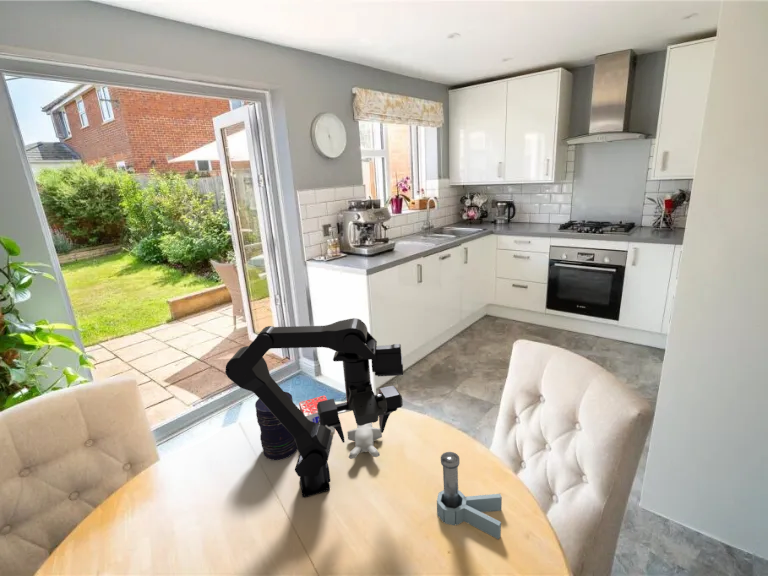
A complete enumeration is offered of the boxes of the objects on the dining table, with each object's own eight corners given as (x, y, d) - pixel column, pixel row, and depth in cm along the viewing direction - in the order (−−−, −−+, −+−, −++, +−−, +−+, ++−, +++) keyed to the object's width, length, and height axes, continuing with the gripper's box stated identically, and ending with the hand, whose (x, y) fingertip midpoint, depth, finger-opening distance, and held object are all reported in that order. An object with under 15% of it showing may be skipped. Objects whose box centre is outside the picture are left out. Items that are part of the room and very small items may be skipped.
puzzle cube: (327, 417, 119) (324, 395, 117) (335, 431, 112) (332, 408, 110) (301, 425, 116) (298, 402, 114) (308, 440, 109) (304, 416, 107)
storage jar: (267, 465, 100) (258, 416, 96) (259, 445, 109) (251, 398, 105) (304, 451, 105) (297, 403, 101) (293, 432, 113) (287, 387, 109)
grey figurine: (380, 416, 111) (381, 445, 97) (381, 433, 112) (383, 464, 97) (348, 419, 111) (344, 448, 97) (349, 435, 112) (346, 467, 97)
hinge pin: (443, 520, 81) (441, 464, 77) (442, 505, 85) (440, 451, 81) (461, 520, 81) (460, 464, 77) (459, 505, 84) (458, 451, 81)
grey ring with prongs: (434, 525, 80) (434, 512, 79) (441, 495, 87) (440, 482, 87) (500, 540, 76) (500, 526, 75) (501, 507, 83) (501, 493, 82)
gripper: (320, 404, 75) (328, 471, 79) (409, 384, 80) (413, 448, 84) (313, 378, 85) (320, 438, 89) (392, 362, 90) (396, 419, 94)
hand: (362, 436), depth 89 cm, fingers open, 9 cm apart
